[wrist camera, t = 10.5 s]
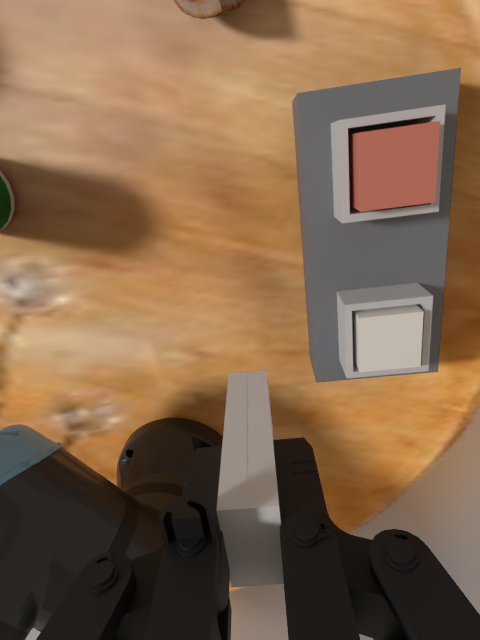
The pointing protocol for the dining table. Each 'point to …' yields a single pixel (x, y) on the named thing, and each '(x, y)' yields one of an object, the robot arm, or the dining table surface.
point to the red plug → (393, 166)
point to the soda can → (5, 202)
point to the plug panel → (370, 218)
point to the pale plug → (387, 338)
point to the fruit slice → (208, 7)
